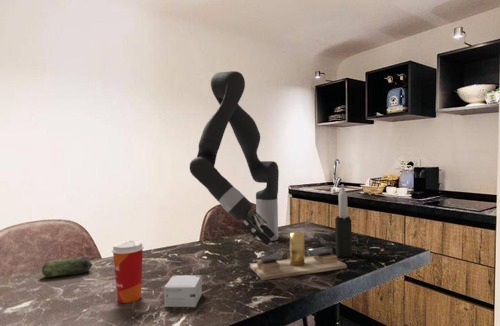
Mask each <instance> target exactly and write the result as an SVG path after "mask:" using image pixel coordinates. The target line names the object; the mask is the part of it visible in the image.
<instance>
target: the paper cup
mask: <svg viewBox="0 0 500 326" xmlns="http://www.w3.org/2000/svg"><path fill="white" fill-rule="evenodd" d="M144 248H145V247H144V245H143V243H142V241H140V240H135V241H134V240H129V241H128V240H125V241H120V242H117V243H115V244H113V246H112V249H111V252H112V254H113V265H114V276H115V277H114V278H115V286H116V296H117V301H118V303H121V304H130V303H134V302H137V301H138V300H140V299H141V297H142V285H143V284H142V282H143V281H142V279H143V276H142V275H143V249H144Z"/></svg>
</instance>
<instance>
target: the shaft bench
mask: <svg viewBox="0 0 500 326" xmlns="http://www.w3.org/2000/svg"><path fill="white" fill-rule="evenodd" d="M347 266H348V265H347V264H346V263H344V262H342V261H340V259H339V260H338V256H337V255H335V254H334V253H332V254H327V255H319V256H312V257H309V256H308V255H307V256H305V265H304V266H299V267H297V266H292V265H290V258H287V260H281V261H273V262H265V263H262V262H261V259H257V260H256V262H255V263H254V262H253V263H249V267H250V269H251V270H252V271H253V272H254V273H255V274H256V275H257V276H258V277H259V278H260V279H261V280H262V281H267V280H273V279H274V280H275V279H281V278H287V277H293V276H294V277H295V276H300V275H301V276H302V275H307V274H308V275H309V274H315V273H321V272H330V271H334V270H342V269H347V268H348V267H347Z"/></svg>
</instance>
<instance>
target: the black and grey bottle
mask: <svg viewBox="0 0 500 326" xmlns="http://www.w3.org/2000/svg"><path fill="white" fill-rule="evenodd" d="M334 223H335V225H334V227H335V231H334V232H335V233H334V234H335V254H336V256H337V257H340V258H343V257H345V258H346V257H347V258H348V257H349V258H351V257H352V256H353V247H352V245H353V244H352V241H353V239H352V237H353V236H352V235H353V234H352V233H353V232H352V231H353V229H352V219H351V217H350V216H349V215H348V193H347V192H346V188H345V185H344V184H341V188H340V191H339V193H338V215H336V217H335V218H334Z"/></svg>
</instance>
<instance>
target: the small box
mask: <svg viewBox="0 0 500 326" xmlns="http://www.w3.org/2000/svg"><path fill="white" fill-rule="evenodd" d="M202 278H203V277H202V275H190V274H189V275H188V274H186V275H172V276H171V277H170V279H169V280H168V281H167V283H166V284H165V285H164V289H163V291H164V292H163V293H164V297H163V298H164V303H163V304H164V307H165V308H168V307H170V308H171V307H173V308H174V307H175V308H196V307H197V305H198V303H199V300H200V299H201V297H202V294H203V293H202V290H203V288H202V286H203V285H202V284H203V282H202V281H203V279H202Z"/></svg>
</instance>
